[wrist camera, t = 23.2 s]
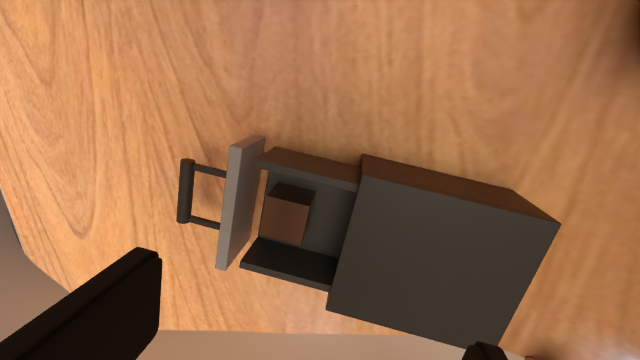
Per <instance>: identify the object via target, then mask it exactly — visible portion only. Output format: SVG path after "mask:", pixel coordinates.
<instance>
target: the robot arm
mask: <svg viewBox="0 0 640 360" xmlns="http://www.w3.org/2000/svg"><path fill="white" fill-rule="evenodd" d="M161 278H162V259H161V258H159V255H158V253H157V252H155V251H152V250H148V249H144V248H141V247H136V248H134V249H133V250H131V251H130V252H128V253H127V254H126V255H124V256H123V257H121V258H120V259H118V260H117V261H116V262H114V263H113V264H111V265H110V266H108V267H107V268H106V269H104V270H103V271H101V272H100V273H98V274H97V275H96V276H94V277H93V278H91V279H90V280H89V281H87V282H86V283H84V284H83V285H81V286H80V287H79V288H77V289H76V290H74V291H73V292H71V293H70V294H69V295H67V296H66V297H64V298H63V299H61V300H60V301H59V302H57V303H56V304H54V305H53V306H51V307H50V308H49V309H47V310H46V311H44V312H43V313H41V314H40V315H39V316H37V317H36V318H35V319H33V320H32V321H30V322H29V323H27V324H26V325H24V326H23V327H22V328H20V329H19V330H17V331H16V332H14V333H13V334H12V335H10V336H9V337H7V338H6V339H4V340H3V341H2V342H0V360H136V359H137V358H138V356H139V355H140V354H141V353H142V352H143V350H144V349H145V348H146V347H147V345H148V344H149V343H150V342H151V341H152V339H153V338H154V336H155V335H156V333H157V331H158V328H159V314H160V296H161ZM462 360H508V359H507V357H506V355H505V354H504V351H503V350H502V349H501V348H500V347H498V346H494V345H491V344H487V343H484V342H480V341H477V342H476V343H475V344H474V345H469V346H468V348H467V349H466V352H465V354H464V356H463V358H462Z"/></svg>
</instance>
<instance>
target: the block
mask: <svg viewBox="0 0 640 360" xmlns="http://www.w3.org/2000/svg"><path fill="white" fill-rule="evenodd" d="M315 196H316V192H315V191H311V190H307V189H304V188H300V187H296V186H292V185H288V184H284V183H280V182H278V183H277V184H276V185H275V186H274V187H273V188H272V189H271V190H270V192H269V193H268V194H267V195H266V198H265V204H264V209H263V215H262V221H261V227H260V233H259V235H262V236H266V237H270V238H273V239H277V240H281V241H285V242H288V243H292V244H296V245H300V246H301V245H302V242H303V240H304V237H305V234H306V232H307V229H308V227H309V223H310V218H311V214H312V209H313V205H314V201H315Z"/></svg>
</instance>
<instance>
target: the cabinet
mask: <svg viewBox="0 0 640 360" xmlns="http://www.w3.org/2000/svg"><path fill="white" fill-rule="evenodd" d="M359 167H361V180H360V183H359V187H358V191H357V194H356V198H355V202H354V205H353V209H352V213H351V216H350V220H349V223H348V227H347V231H346V234H345V238H344V242H343V245H342V249H341V253H340V256H339V260H338V264H337V267H336V271H335V275H334V278H333V282H332V286H331V289H330V292H328V297H327V303H326V310H327V311H331V312H334V313H338V314H341V315H345V316H349V317H352V318H356V319H359V320H363V321H367V322H370V323H374V324H377V325H381V326H384V327H388V328H392V329H395V330H399V331H402V332H406V333H409V334H413V335H417V336H420V337H424V338H428V339H431V340H434V341H438V342H442V343H445V344H449V345H453V346H456V347H460V348H463V349H467V348H468V346H469V345H474V344H475V343H476V342H477V341H480V342H484V343H487V344H491V345H494V346H498V344H499V342H500V340H501V338H502V336H503V334H504V332H505V330H506V328H507V327H508V325H509V323H510V321H511V319H512V317H513V315H514V313H515V311H516V310H517V308H518V306H519V304H520V302H521V300H522V298H523V296H524V294H525V292H526V291H527V289H528V287H529V285H530V283H531V281H532V279H533V277H534V275H535V274H536V272H537V270H538V268H539V266H540V264H541V262H542V260H543V258H544V256H545V255H546V253H547V251H548V249H549V247H550V245H551V243H552V241H553V239H554V238H555V236H556V234H557V232H558V230H559V228H560V226H561V223H560V222H558V221H557V220H555V219H554V218H552V217H551V216H549V215H548V214H546V213H545V212H543V211H542V210H541V209H539V208H538V207H536V206H535V205H533V204H532V203H530V202H529V201H527V200H526V199H525V198H523V197H522V196H520V195H519V194H517V193H516V192H515V191H513V190H511V189H507V188H503V187H498V186H494V185H490V184H486V183H482V182H478V181H474V180H470V179H465V178H461V177H457V176H453V175H449V174H445V173H441V172H437V171H432V170H428V169H424V168H420V167H416V166H412V165H408V164H404V163H399V162H395V161H391V160H387V159H383V158H379V157H375V156H371V155H367V154H362V158H361V162H360V166H359Z"/></svg>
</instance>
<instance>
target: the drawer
mask: <svg viewBox="0 0 640 360" xmlns="http://www.w3.org/2000/svg"><path fill="white" fill-rule="evenodd" d="M264 141H265V137H263V136H259V135H253V136H251V137H249V138H246V139H244V140H242V141H240V142H237V143H235V144H233V145H230V149H229V157H228V165H227V171H224V170H220V169H216V168H212V167H208V166H204V165H200V164H195V160H193V159H189V158H184V159H181V162H180V176H179V191H178V206H177V222H178V223H181V224H186V223H189V222H191V223H195V224H198V225H202V226H206V227H210V228H213V229H217V230H220V231H219V240H218V248H217V256H216V264H215V268H217V269H220V270H224V271H226V270H227V268H228V267H229V266H230V264H231V263H232V262H233V260H234V259H235V258H236V256H237V255H238V254H239V252H240V251H241V250H242V248H243V247H244V246H245V244H246V243H247V242H248V240H249V236H250V230H251V223H252V217H253V211H254V204H255V198H256V192H257V185H258V179H259V173H260V168H261V169H265V170H269V173H268V179H267V185H266V191H265V197H264V203H263V209H264V204H265V198H266V195H267V194H268V193H269V192H270V190H271V189H272V188H273V187H274V186H275V185H276V184H277V183H278V182H280V183H284V184H288V185H292V186H296V187H300V188H304V189H307V190H311V191H315V192H316V196H315V201H314V205H313V209H312V214H311V218H310V223H309V227H308V229H307V232H306V234H305V237H304V240H303V242H302V245H301V246H300V245H296V244H292V243H288V242H285V241H281V240H277V239H273V238H270V237H266V236H262V235H259V233H260V227H261V221H262V215H263V209H262V215H261V220H260V226H259V232H258V237H257V238H256V240H255V241H254V243H253V244H252V246H251V247H250V248H249V250H248V251H247V253H246V254H245V255H244V257H243V258H242V260H241V261H240V266H239V268H242V269H246V270H250V271H253V272H257V273H261V274H264V275H268V276H271V277H275V278H279V279H282V280H286V281H290V282H293V283H297V284H301V285H304V286H308V287H311V288H315V289H319V290H322V291H326V292H330V289H331V286H332V282H333V278H334V275H335V271H336V267H337V264H338V260H339V256H340V253H341V249H342V245H343V242H344V238H345V234H346V231H347V227H348V223H349V220H350V216H351V213H352V209H353V205H354V202H355V198H356V194H357V191H358V187H359V183H360V180H361V167H357V166H353V165H349V164H345V163H341V162H336V161H332V160H328V159H324V158H320V157H316V156H312V155H308V154H304V153H300V152H296V151H292V150H288V149H284V148H279V147H273V148H272V149H270V150H268V151H267V152H265V153H264V154H263V147H264ZM195 171H199V172H203V173H207V174H211V175H215V176H219V177H223V178H226V182H225V190H224V198H223V207H222V215H221V223H219V222H215V221H212V220H208V219H204V218H200V217H197V216H193V215H191V209H192V197H193V186H194V174H195Z"/></svg>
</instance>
